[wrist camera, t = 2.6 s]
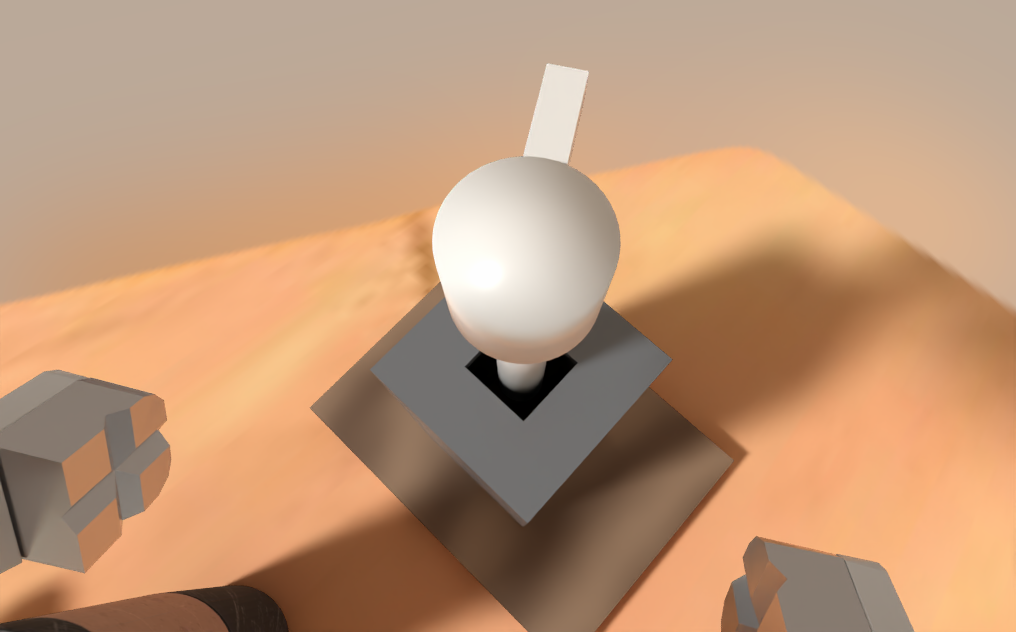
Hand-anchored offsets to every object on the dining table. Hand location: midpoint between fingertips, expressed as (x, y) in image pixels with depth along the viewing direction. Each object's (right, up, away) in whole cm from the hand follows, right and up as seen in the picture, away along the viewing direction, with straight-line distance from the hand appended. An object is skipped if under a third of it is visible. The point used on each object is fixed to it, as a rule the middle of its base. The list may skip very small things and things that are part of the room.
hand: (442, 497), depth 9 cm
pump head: (+2, +1, +18) cm, 18 cm away
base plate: (+2, -5, +34) cm, 34 cm away
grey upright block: (+2, -5, +33) cm, 33 cm away
